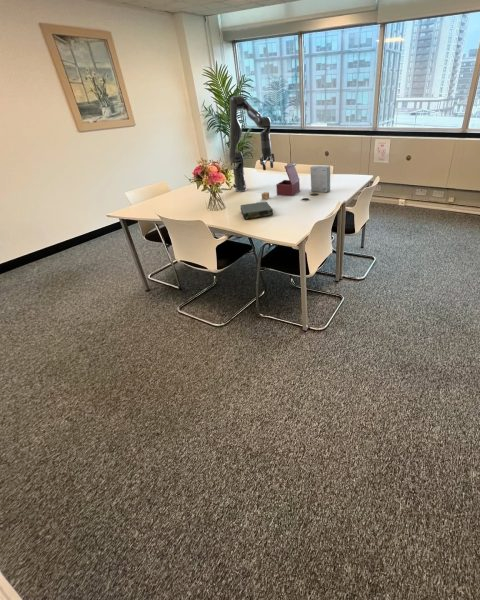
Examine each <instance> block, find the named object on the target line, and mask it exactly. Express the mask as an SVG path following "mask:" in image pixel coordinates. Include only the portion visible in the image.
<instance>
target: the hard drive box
mask: <svg viewBox="0 0 480 600" xmlns="http://www.w3.org/2000/svg"><path fill="white" fill-rule="evenodd" d="M310 188H311V189H310V191H311V192H318V193H328V192H330V191H331V165H312V166H311V167H310Z"/></svg>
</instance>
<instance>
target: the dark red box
mask: <svg viewBox="0 0 480 600" xmlns="http://www.w3.org/2000/svg"><path fill="white" fill-rule="evenodd" d="M275 186H276V195H277V196H286V197H293V196H295V195H296V194H298V193H299V192H301V188H300V186H301V185H300V180H299V181H297V182H296V183H294V184H292V185H291V183H290V180H289V179H283V180H281V181H279V182H278V183H276V185H275Z"/></svg>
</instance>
